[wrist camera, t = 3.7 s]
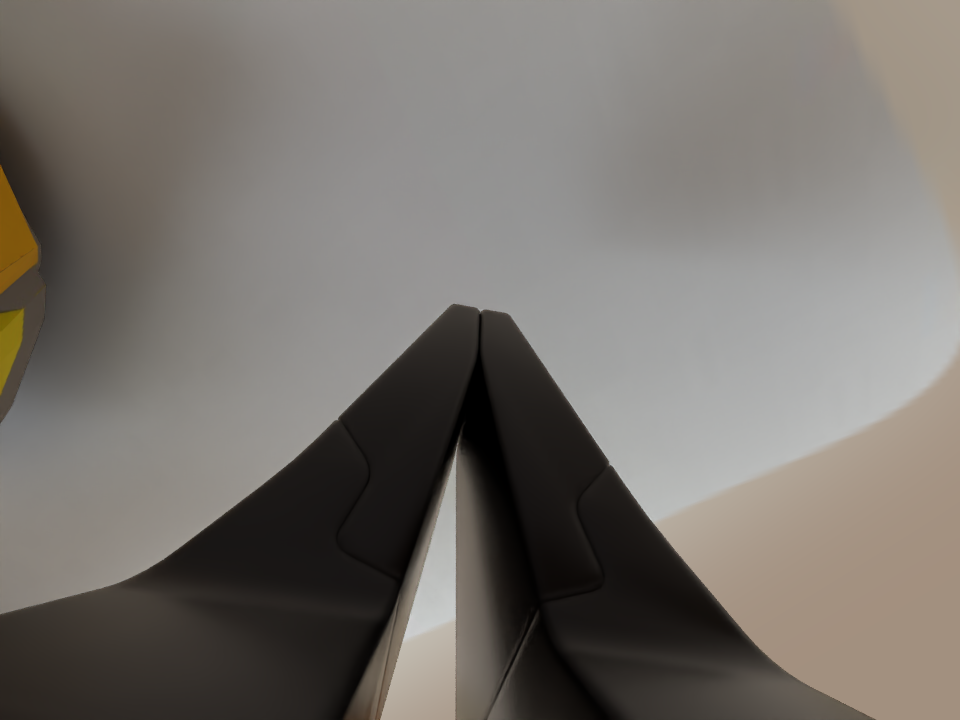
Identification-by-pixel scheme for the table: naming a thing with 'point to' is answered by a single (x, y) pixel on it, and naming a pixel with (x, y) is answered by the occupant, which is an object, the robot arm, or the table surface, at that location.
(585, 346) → the table surface
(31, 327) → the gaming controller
